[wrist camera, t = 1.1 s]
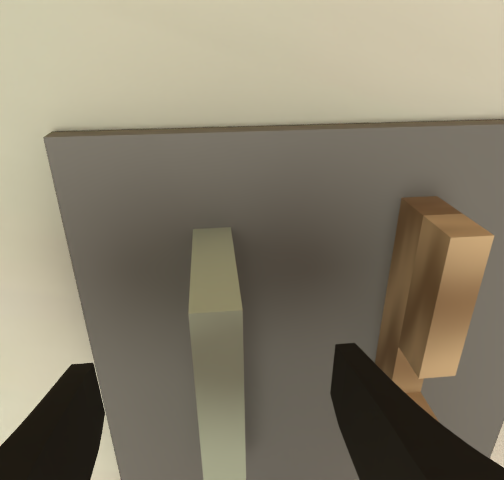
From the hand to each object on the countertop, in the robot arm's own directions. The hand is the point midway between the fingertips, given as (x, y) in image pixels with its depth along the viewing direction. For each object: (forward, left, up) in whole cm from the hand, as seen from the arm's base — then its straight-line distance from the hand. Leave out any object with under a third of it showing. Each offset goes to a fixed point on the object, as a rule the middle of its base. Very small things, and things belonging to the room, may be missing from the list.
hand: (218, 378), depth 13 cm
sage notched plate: (-5, 0, -7) cm, 8 cm away
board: (-5, -6, -8) cm, 11 cm away
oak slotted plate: (-5, -9, -7) cm, 12 cm away
